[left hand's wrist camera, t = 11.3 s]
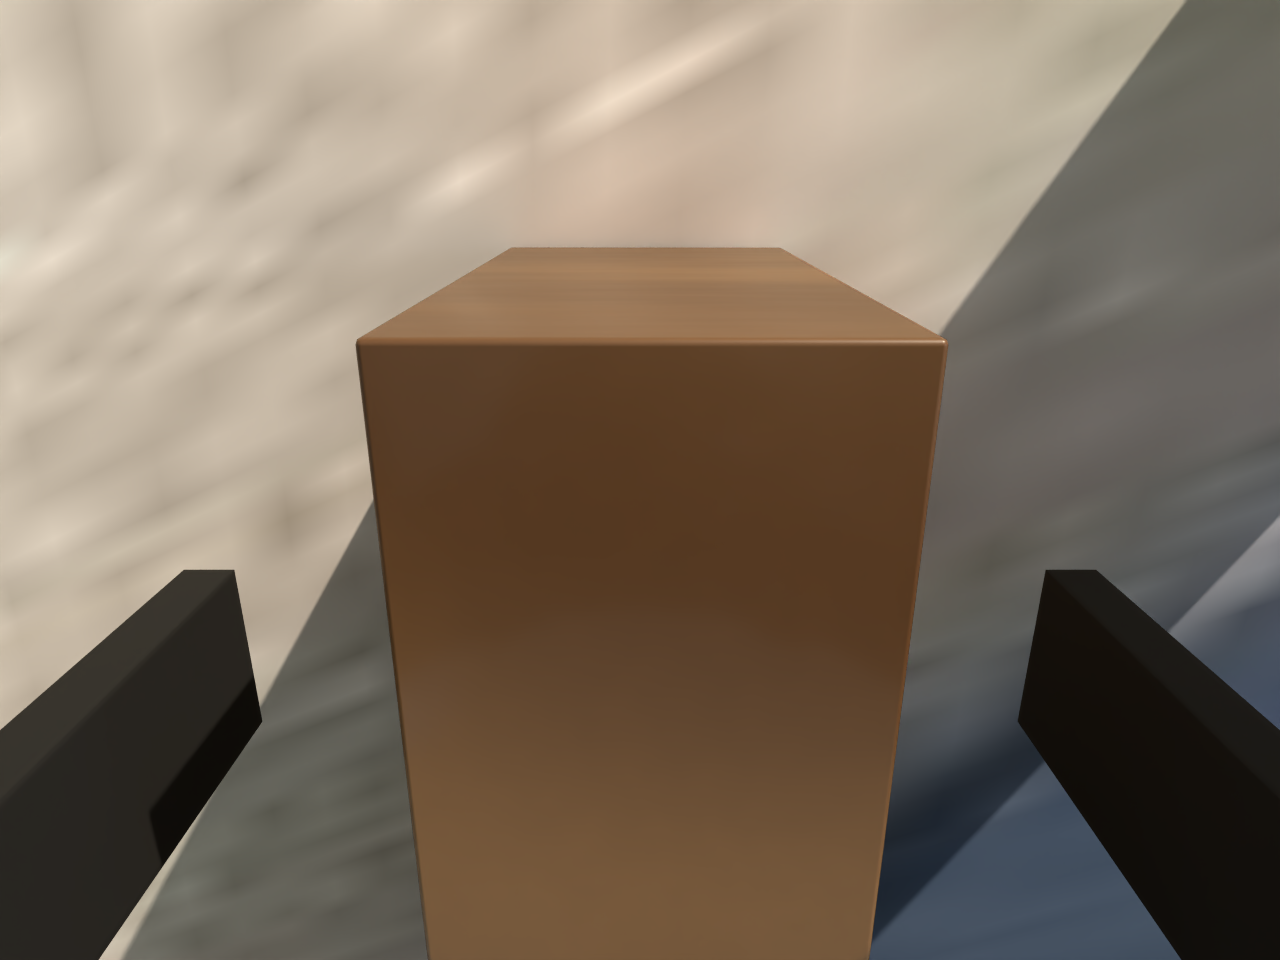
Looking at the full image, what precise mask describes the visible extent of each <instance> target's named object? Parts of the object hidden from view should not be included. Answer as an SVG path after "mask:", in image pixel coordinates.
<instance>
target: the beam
mask: <svg viewBox="0 0 1280 960" xmlns="http://www.w3.org/2000/svg"><path fill="white" fill-rule="evenodd" d="M947 351H948V343H947V340H946V339H944V338H942V337H941V336H939V335H937V334H935V333H933V332H932V331H930V330H928V329H926V328H924V327H923V326H921V325H919V324H917V323H915V322H914V321H912V320H910V319H908V318H906V317H904V316H903V315H901V314H899V313H897V312H895V311H894V310H892V309H890V308H888V307H886V306H885V305H883V304H881V303H879V302H877V301H876V300H874V299H872V298H870V297H868V296H866V295H865V294H863V293H861V292H859V291H857V290H856V289H854V288H852V287H850V286H848V285H847V284H845V283H843V282H841V281H839V280H837V279H836V278H834V277H832V276H830V275H828V274H827V273H825V272H823V271H821V270H819V269H818V268H816V267H814V266H812V265H810V264H809V263H807V262H805V261H803V260H801V259H799V258H798V257H796V256H794V255H792V254H790V253H789V252H787V251H785V250H783V249H781V248H510V249H508V250H507V251H505V252H503V253H502V254H500V255H498V256H497V257H495V258H493V259H492V260H490V261H488V262H487V263H485V264H483V265H482V266H480V267H478V268H476V269H475V270H473V271H471V272H470V273H468V274H466V275H465V276H463V277H461V278H460V279H458V280H456V281H455V282H453V283H451V284H450V285H448V286H446V287H444V288H443V289H441V290H439V291H438V292H436V293H434V294H433V295H431V296H429V297H428V298H426V299H424V300H423V301H421V302H419V303H418V304H416V305H414V306H412V307H411V308H409V309H407V310H406V311H404V312H402V313H401V314H399V315H397V316H396V317H394V318H392V319H391V320H389V321H387V322H386V323H384V324H382V325H381V326H379V327H377V328H375V329H374V330H372V331H370V332H369V333H367V334H365V335H364V336H362V337H360V338H359V339H357V342H356V353H357V361H358V370H359V378H360V387H361V395H362V404H363V412H364V421H365V429H366V438H367V446H368V455H369V463H370V472H371V480H372V489H373V497H374V506H375V514H376V523H377V531H378V540H379V548H380V557H381V565H382V574H383V582H384V591H385V599H386V608H387V616H388V625H389V633H390V642H391V650H392V659H393V667H394V676H395V684H396V693H397V701H398V709H399V718H400V726H401V735H402V743H403V752H404V760H405V769H406V777H407V786H408V794H409V803H410V811H411V820H412V828H413V837H414V845H415V854H416V862H417V871H418V879H419V888H420V896H421V905H422V913H423V922H424V930H425V939H426V947H427V956H428V960H869V956H870V948H871V941H872V933H873V925H874V917H875V910H876V902H877V894H878V886H879V879H880V871H881V863H882V855H883V848H884V840H885V832H886V824H887V817H888V809H889V801H890V793H891V786H892V778H893V770H894V762H895V755H896V747H897V739H898V731H899V724H900V716H901V708H902V700H903V692H904V685H905V677H906V669H907V661H908V654H909V646H910V638H911V630H912V623H913V615H914V607H915V599H916V592H917V584H918V576H919V568H920V561H921V553H922V545H923V537H924V530H925V522H926V514H927V506H928V499H929V491H930V483H931V475H932V468H933V460H934V452H935V444H936V437H937V429H938V421H939V413H940V406H941V398H942V390H943V382H944V375H945V367H946V359H947Z"/></svg>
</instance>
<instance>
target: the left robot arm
mask: <svg viewBox="0 0 1280 960" xmlns="http://www.w3.org/2000/svg"><path fill="white" fill-rule="evenodd" d="M261 723H262V717H261V712H260V706H259V701H258V695H257V690H256V685H255V679H254V674H253V669H252V663H251V658H250V652H249V647H248V642H247V636H246V631H245V625H244V620H243V615H242V609H241V604H240V598H239V593H238V588H237V582H236V577H235V572H234V570H183V571H182V572H181V573H180V574H179V575H178V576H176V577H175V578H174V579H173V580H172V581H171V582H170V583H168V584H167V585H166V586H165V587H164V588H163V589H162V590H160V591H159V592H158V593H157V594H156V595H155V596H153V597H152V598H151V599H150V600H149V601H148V602H147V603H145V604H144V605H143V606H142V607H141V608H140V609H139V610H137V611H136V612H135V613H134V614H133V615H132V616H131V617H129V618H128V619H127V620H126V621H125V622H124V623H123V624H121V625H120V626H119V627H118V628H117V629H116V630H115V631H113V632H112V633H111V634H110V635H109V636H108V637H107V638H105V639H104V640H103V641H102V642H101V643H100V644H98V645H97V646H96V647H95V648H94V649H93V650H92V651H90V652H89V653H88V654H87V655H86V656H85V657H84V658H82V659H81V660H80V661H79V662H78V663H77V664H76V665H74V666H73V667H72V668H71V669H70V670H69V671H68V672H66V673H65V674H64V675H63V676H62V677H61V678H60V679H58V680H57V681H56V682H55V683H54V684H53V685H51V686H50V687H49V688H48V689H47V690H46V691H45V692H43V693H42V694H41V695H40V696H39V697H38V698H37V699H35V700H34V701H33V702H32V703H31V704H30V705H29V706H27V707H26V708H25V709H24V710H23V711H22V712H21V713H19V714H18V715H17V716H16V717H15V718H14V719H13V720H11V721H10V722H9V723H8V724H7V725H6V726H4V727H3V728H2V729H1V730H0V960H99V958H100V957H101V955H102V954H103V953H104V951H105V950H106V948H107V947H108V945H109V944H110V942H111V941H112V939H113V938H114V937H115V935H116V934H117V932H118V931H119V929H120V928H121V926H122V925H123V923H124V922H125V921H126V919H127V918H128V916H129V915H130V913H131V912H132V910H133V909H134V907H135V906H136V905H137V903H138V902H139V900H140V899H141V897H142V896H143V894H144V893H145V891H146V890H147V889H148V887H149V886H150V884H151V883H152V881H153V880H154V878H155V877H156V875H157V874H158V872H159V871H160V870H161V868H162V867H163V865H164V864H165V862H166V861H167V859H168V858H169V856H170V855H171V854H172V852H173V851H174V849H175V848H176V846H177V845H178V843H179V842H180V840H181V839H182V838H183V836H184V835H185V833H186V832H187V830H188V829H189V827H190V826H191V824H192V823H193V822H194V820H195V819H196V817H197V816H198V814H199V813H200V811H201V810H202V808H203V807H204V806H205V804H206V803H207V801H208V800H209V798H210V797H211V795H212V794H213V792H214V791H215V790H216V788H217V787H218V785H219V784H220V782H221V781H222V779H223V778H224V776H225V775H226V774H227V772H228V771H229V769H230V768H231V766H232V765H233V763H234V762H235V760H236V759H237V758H238V756H239V755H240V753H241V752H242V750H243V749H244V747H245V746H246V744H247V743H248V742H249V740H250V739H251V737H252V736H253V734H254V733H255V731H256V730H257V728H258V727H259V726H260V724H261ZM1018 723H1019V724H1020V726H1021V727H1022V728H1023V730H1024V731H1025V733H1026V734H1027V736H1028V737H1029V739H1030V740H1031V742H1032V743H1033V745H1034V746H1035V747H1036V749H1037V750H1038V752H1039V753H1040V755H1041V756H1042V758H1043V759H1044V761H1045V762H1046V763H1047V765H1048V766H1049V768H1050V769H1051V771H1052V772H1053V774H1054V775H1055V777H1056V778H1057V779H1058V781H1059V782H1060V784H1061V785H1062V787H1063V788H1064V790H1065V791H1066V793H1067V794H1068V795H1069V797H1070V798H1071V800H1072V801H1073V803H1074V804H1075V806H1076V807H1077V809H1078V810H1079V811H1080V813H1081V814H1082V816H1083V817H1084V819H1085V820H1086V822H1087V823H1088V825H1089V826H1090V827H1091V829H1092V830H1093V832H1094V833H1095V835H1096V836H1097V838H1098V839H1099V841H1100V842H1101V843H1102V845H1103V846H1104V848H1105V849H1106V851H1107V852H1108V854H1109V855H1110V857H1111V858H1112V859H1113V861H1114V862H1115V864H1116V865H1117V867H1118V868H1119V870H1120V871H1121V873H1122V874H1123V875H1124V877H1125V878H1126V880H1127V881H1128V883H1129V884H1130V886H1131V887H1132V889H1133V890H1134V891H1135V893H1136V894H1137V896H1138V897H1139V899H1140V900H1141V902H1142V903H1143V905H1144V906H1145V907H1146V909H1147V910H1148V912H1149V913H1150V915H1151V916H1152V918H1153V919H1154V921H1155V922H1156V923H1157V925H1158V926H1159V928H1160V929H1161V931H1162V932H1163V934H1164V935H1165V937H1166V938H1167V939H1168V941H1169V942H1170V944H1171V945H1172V947H1173V948H1174V950H1175V951H1176V953H1177V954H1178V955H1179V957H1180V958H1181V960H1280V730H1279V729H1278V728H1277V727H1275V726H1274V725H1273V724H1272V723H1271V722H1270V721H1269V720H1267V719H1266V718H1265V717H1264V716H1263V715H1262V714H1261V713H1259V712H1258V711H1257V710H1256V709H1255V708H1254V707H1253V706H1251V705H1250V704H1249V703H1248V702H1247V701H1246V700H1245V699H1243V698H1242V697H1241V696H1240V695H1239V694H1238V693H1237V692H1235V691H1234V690H1233V689H1232V688H1231V687H1230V686H1228V685H1227V684H1226V683H1225V682H1224V681H1223V680H1222V679H1220V678H1219V677H1218V676H1217V675H1216V674H1215V673H1214V672H1212V671H1211V670H1210V669H1209V668H1208V667H1207V666H1206V665H1204V664H1203V663H1202V662H1201V661H1200V660H1199V659H1198V658H1196V657H1195V656H1194V655H1193V654H1192V653H1191V652H1190V651H1188V650H1187V649H1186V648H1185V647H1184V646H1183V645H1182V644H1180V643H1179V642H1178V641H1177V640H1176V639H1175V638H1173V637H1172V636H1171V635H1170V634H1169V633H1168V632H1167V631H1165V630H1164V629H1163V628H1162V627H1161V626H1160V625H1159V624H1157V623H1156V622H1155V621H1154V620H1153V619H1152V618H1151V617H1149V616H1148V615H1147V614H1146V613H1145V612H1144V611H1143V610H1141V609H1140V608H1139V607H1138V606H1137V605H1136V604H1135V603H1133V602H1132V601H1131V600H1130V599H1129V598H1128V597H1126V596H1125V595H1124V594H1123V593H1122V592H1121V591H1120V590H1118V589H1117V588H1116V587H1115V586H1114V585H1113V584H1112V583H1110V582H1109V581H1108V580H1107V579H1106V578H1105V577H1104V576H1102V575H1101V574H1100V573H1099V572H1098V571H1097V570H1046V571H1045V577H1044V582H1043V588H1042V593H1041V598H1040V604H1039V609H1038V615H1037V620H1036V625H1035V631H1034V636H1033V641H1032V647H1031V652H1030V658H1029V663H1028V668H1027V674H1026V679H1025V685H1024V690H1023V695H1022V701H1021V706H1020V712H1019V717H1018Z"/></svg>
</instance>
